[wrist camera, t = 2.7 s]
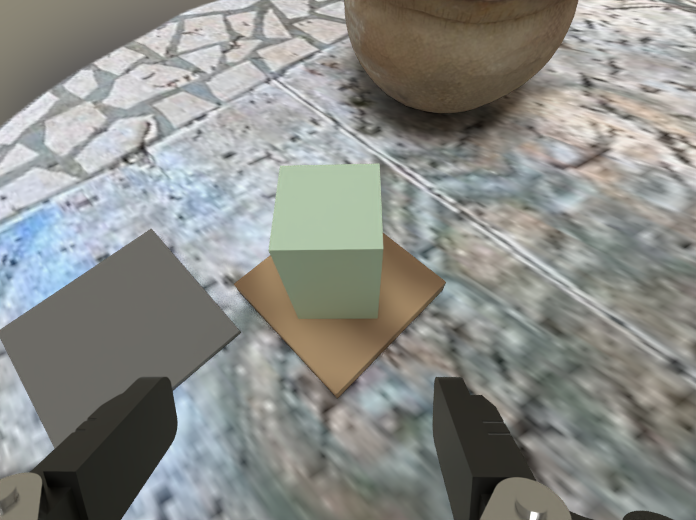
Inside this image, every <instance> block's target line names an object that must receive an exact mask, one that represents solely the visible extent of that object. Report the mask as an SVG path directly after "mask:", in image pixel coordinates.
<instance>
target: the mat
mask: <svg viewBox="0 0 696 520" xmlns="http://www.w3.org/2000/svg"><path fill="white" fill-rule="evenodd" d="M240 333H241V332H240V331H239V329H238V328H237V327H236V326H235V325H234V324H233V322H232V321H231V320H230V319H229V318H228V317H227V316H226V314H225V313H224V312H223V311H222V310H221V309H220V307H219V306H218V305H217V304H216V303H215V302H214V301H213V299H212V298H211V297H210V296H209V295H208V294H207V292H206V291H205V290H204V289H203V288H202V287H201V286H200V284H199V283H198V282H197V281H196V280H195V279H194V277H193V276H192V275H191V274H190V273H189V272H188V271H187V269H186V268H185V267H184V266H183V265H182V264H181V262H180V261H179V260H178V259H177V258H176V257H175V256H174V254H173V253H172V252H171V251H170V250H169V249H168V247H167V246H166V245H165V244H164V243H163V242H162V241H161V239H160V238H159V237H158V236H157V235H156V234H155V232H154V231H153V230H152V229H150V230H148V231H147V232H145V233H144V234H142V235H141V236H139V237H138V238H136V239H135V240H134V241H132V242H131V243H129V244H128V245H126V246H125V247H123V248H122V249H120V250H119V251H117V252H116V253H114V254H113V255H111V256H110V257H108V258H107V259H105V260H104V261H102V262H101V263H99V264H98V265H96V266H95V267H93V268H92V269H90V270H89V271H87V272H86V273H84V274H83V275H81V276H80V277H78V278H77V279H75V280H74V281H72V282H71V283H69V284H68V285H66V286H65V287H63V288H62V289H60V290H59V291H57V292H56V293H54V294H53V295H51V296H50V297H48V298H47V299H45V300H44V301H42V302H41V303H39V304H38V305H36V306H35V307H33V308H32V309H30V310H29V311H27V312H26V313H24V314H23V315H21V316H20V317H18V318H17V319H15V320H14V321H12V322H11V323H9V324H8V325H6V326H5V327H3V328H2V329H1V330H0V339H1V341H2V343H3V345H4V347H5V349H6V351H7V353H8V355H9V357H10V359H11V361H12V363H13V365H14V367H15V369H16V371H17V373H18V375H19V377H20V379H21V381H22V383H23V385H24V387H25V389H26V391H27V394H28V396H29V398H30V400H31V402H32V404H33V406H34V408H35V410H36V412H37V414H38V416H39V418H40V420H41V422H42V424H43V426H44V428H45V430H46V432H47V434H48V436H49V438H50V440H51V442H52V444H53V446H54V448H56V447H57V446H58V445H59V444H61V443H62V442H63V441H64V440H65V439H66V438H67V437H68V436H69V435H70V434H71V433H72V432H75V430H76V428H78V427H79V426H80V425H81V424H82V423H83V422H84V421H87V418H88V417H89V416H90V415H91V414H92V413H93V412H95V411H96V410H97V409H98V408H99V407H100V406H101V405H102V404H104V403H106V402H107V401H109V400H111V399H112V398H114V397H116V396H117V395H119V394H123V393H124V392H125V391H126V390H127V389H128V388H129V387H130V386H131V385H132V384H133V383H134V382H135V381H136V380H137V379H138V378H140V377H168V378H169V379H170V381H171V385H172V391H173V390H174V389H175V388H176V387H177V386H179V385H180V384H181V383H182V382H183V381H185V380H186V379H187V378H188V377H189V376H190V375H192V374H193V373H194V372H195V371H196V370H197V369H199V368H200V367H201V366H202V365H203V364H205V363H206V362H207V361H208V360H209V359H210V358H212V357H213V356H214V355H215V354H216V353H218V352H219V351H220V350H221V349H222V348H223V347H225V346H226V345H227V344H228V343H229V342H230V341H232V340H233V339H234V338H235V337H236V336H238V335H239V334H240Z"/></svg>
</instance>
